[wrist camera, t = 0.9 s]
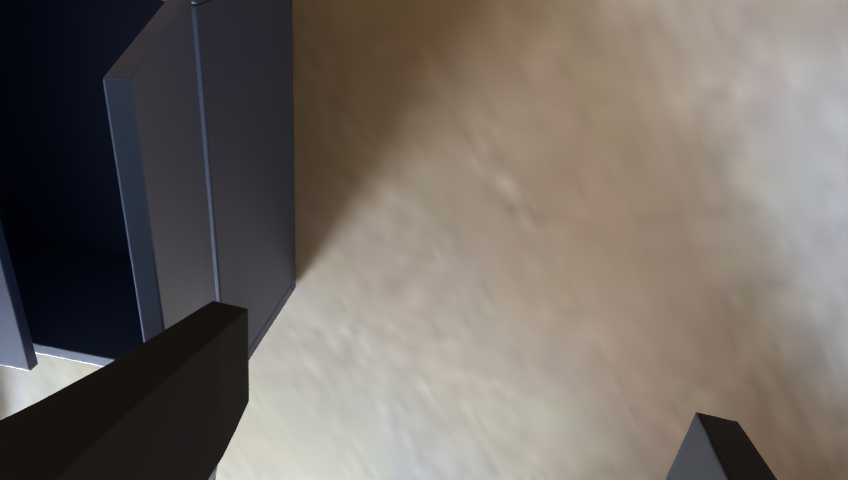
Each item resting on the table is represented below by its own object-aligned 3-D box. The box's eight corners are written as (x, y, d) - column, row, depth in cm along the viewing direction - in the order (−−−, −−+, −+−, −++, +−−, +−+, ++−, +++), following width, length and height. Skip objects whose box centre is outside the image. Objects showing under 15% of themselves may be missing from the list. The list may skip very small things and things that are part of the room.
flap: (171, -8, 13) (190, -6, 13) (212, 407, 18) (225, 407, 18) (101, 77, 9) (130, 78, 9) (181, 592, 14) (199, 591, 14)
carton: (291, -49, 18) (176, -9, 13) (296, 287, 24) (216, 411, 18) (-71, -92, 20) (-308, -72, 14) (12, 236, 25) (-139, 338, 20)
